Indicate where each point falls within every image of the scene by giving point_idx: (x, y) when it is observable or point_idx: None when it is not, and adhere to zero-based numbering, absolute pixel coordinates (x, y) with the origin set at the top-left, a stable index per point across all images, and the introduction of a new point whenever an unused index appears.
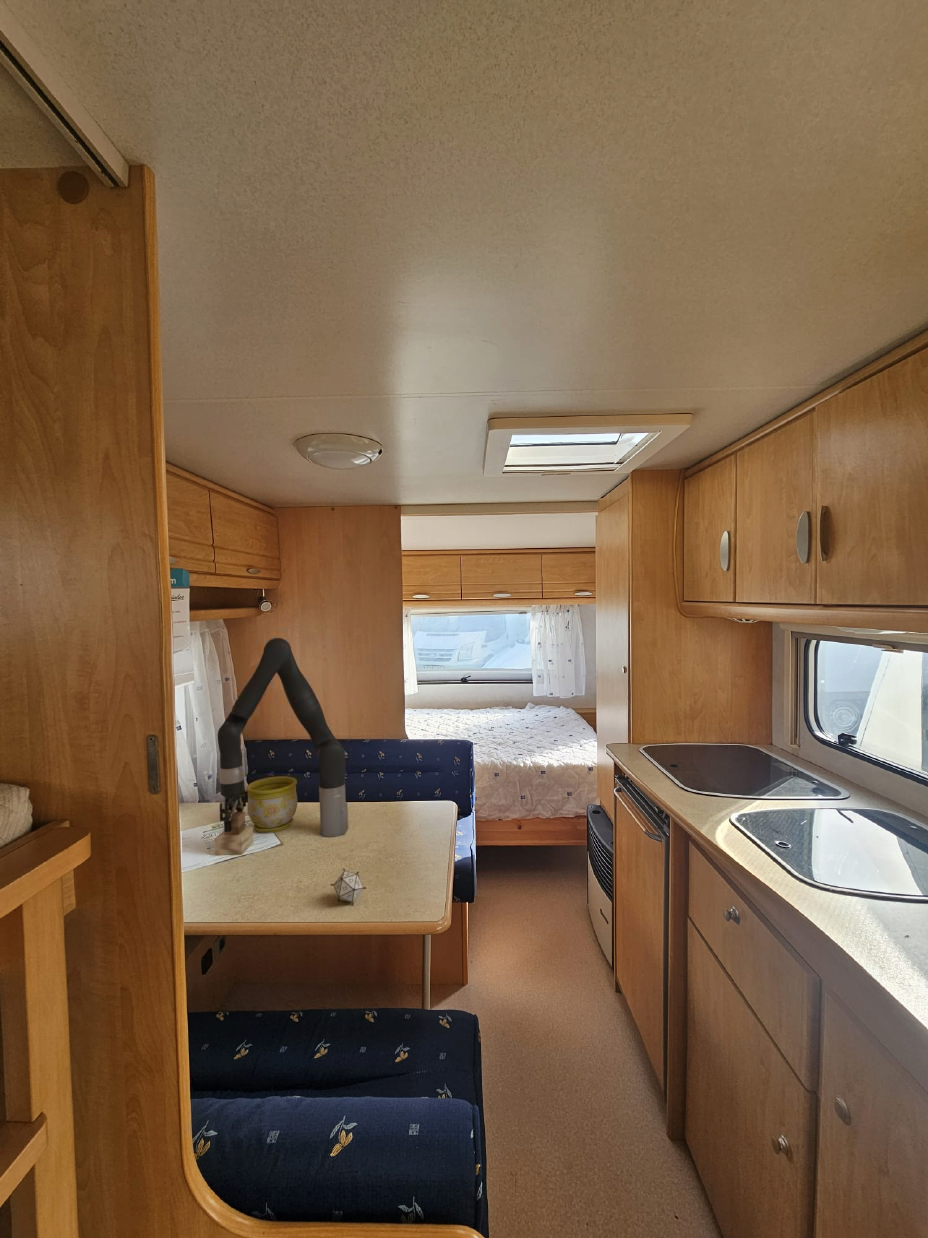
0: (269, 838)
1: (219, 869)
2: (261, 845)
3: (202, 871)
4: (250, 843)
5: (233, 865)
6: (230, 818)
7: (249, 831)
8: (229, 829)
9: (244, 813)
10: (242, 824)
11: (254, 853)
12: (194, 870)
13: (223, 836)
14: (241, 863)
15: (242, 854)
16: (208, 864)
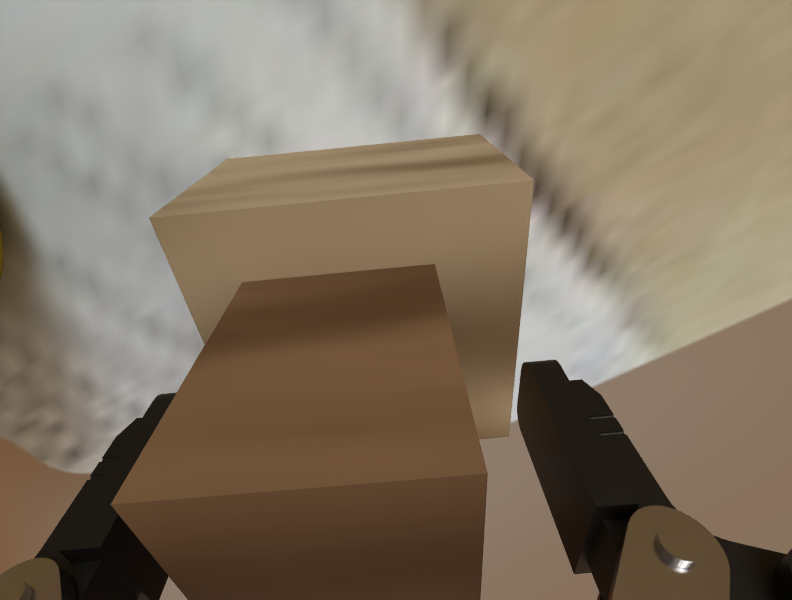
0: (62, 27)
1: (730, 185)
2: (254, 30)
3: (713, 291)
4: (288, 159)
5: (694, 96)
6: (699, 564)
7: (271, 199)
8: (567, 392)
9: (149, 471)
10: (307, 329)
11: (454, 3)
12: (676, 344)
13: (470, 395)
14: (675, 28)
15: (471, 135)
16: (608, 310)
